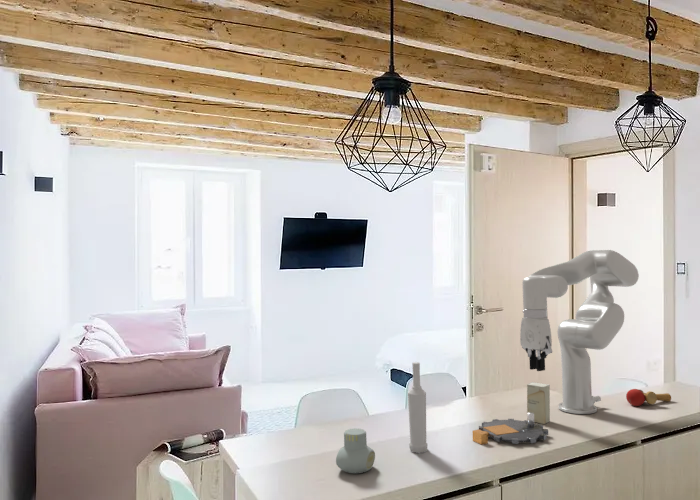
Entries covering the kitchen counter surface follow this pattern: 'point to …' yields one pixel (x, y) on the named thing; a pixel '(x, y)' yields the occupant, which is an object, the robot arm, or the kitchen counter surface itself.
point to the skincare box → (539, 401)
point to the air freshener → (355, 452)
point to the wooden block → (480, 437)
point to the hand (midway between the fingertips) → (537, 369)
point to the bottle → (417, 413)
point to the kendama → (645, 397)
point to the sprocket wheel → (515, 430)
